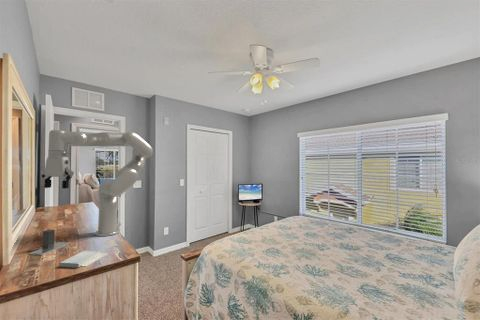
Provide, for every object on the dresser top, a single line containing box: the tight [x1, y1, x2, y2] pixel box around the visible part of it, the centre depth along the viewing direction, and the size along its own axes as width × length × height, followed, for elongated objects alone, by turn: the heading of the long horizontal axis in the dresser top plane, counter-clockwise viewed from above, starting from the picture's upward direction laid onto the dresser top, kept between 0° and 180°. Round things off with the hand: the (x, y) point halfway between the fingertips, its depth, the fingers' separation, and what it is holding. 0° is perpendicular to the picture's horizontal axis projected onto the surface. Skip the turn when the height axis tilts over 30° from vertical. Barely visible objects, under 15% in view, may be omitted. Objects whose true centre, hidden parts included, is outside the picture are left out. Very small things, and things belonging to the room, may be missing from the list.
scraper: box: [29, 228, 71, 256], centre depth 104 cm, size 6×14×9 cm, turn 176°
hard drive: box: [58, 250, 101, 268], centre depth 92 cm, size 2×8×12 cm
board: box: [80, 252, 109, 268], centre depth 94 cm, size 13×11×1 cm
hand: (56, 187), depth 111 cm, fingers open, 9 cm apart
